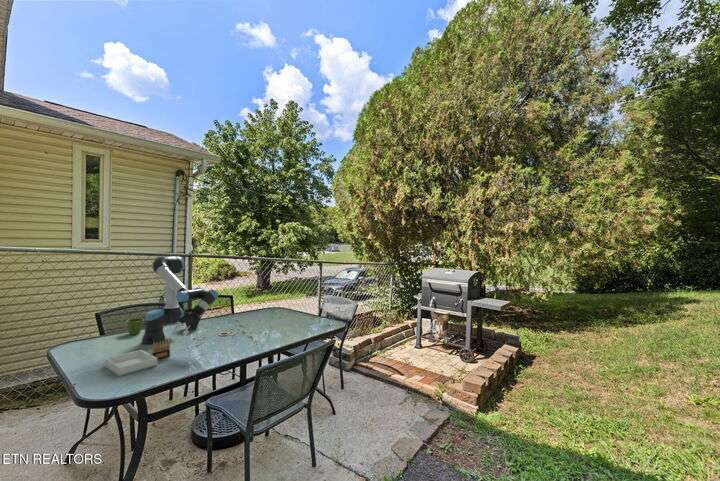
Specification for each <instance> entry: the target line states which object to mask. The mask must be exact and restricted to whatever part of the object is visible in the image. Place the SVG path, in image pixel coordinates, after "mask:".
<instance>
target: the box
mask: <svg viewBox="0 0 720 481" xmlns="http://www.w3.org/2000/svg"><path fill="white" fill-rule="evenodd" d="M103 365H104V367H105V368H106V369H108V370H109V371H110V372H112V373H113V374H114V375H116V376H118V377H123V376H126V375H129V374H133V373H136V372H141V371H144V370H147V369H152V368H154V367H155V368H156V367H157V366H158V360H157V358H156V357H154V356H153V355H152V353H149V352H147V351H145V350H143V349H140V350H134V351H131V352H125V353H121V354H117V355H113V356H109V357H104V363H103Z"/></svg>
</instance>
